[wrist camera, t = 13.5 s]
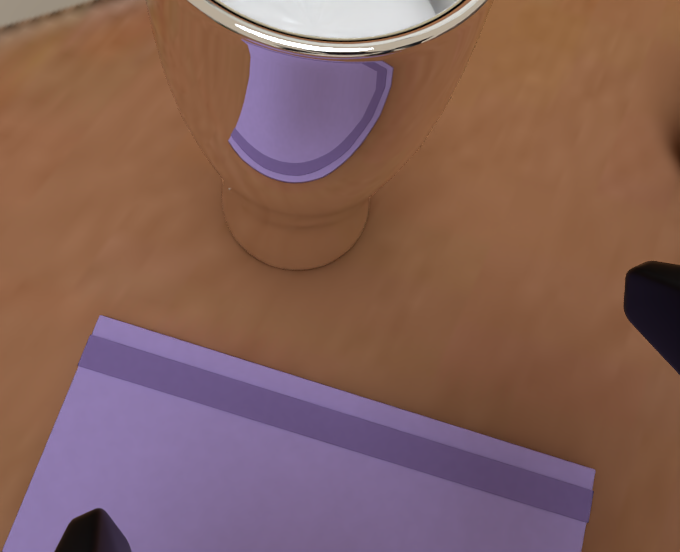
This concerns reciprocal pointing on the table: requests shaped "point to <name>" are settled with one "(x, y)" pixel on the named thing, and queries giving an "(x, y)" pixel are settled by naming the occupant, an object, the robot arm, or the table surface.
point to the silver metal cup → (310, 106)
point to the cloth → (279, 464)
